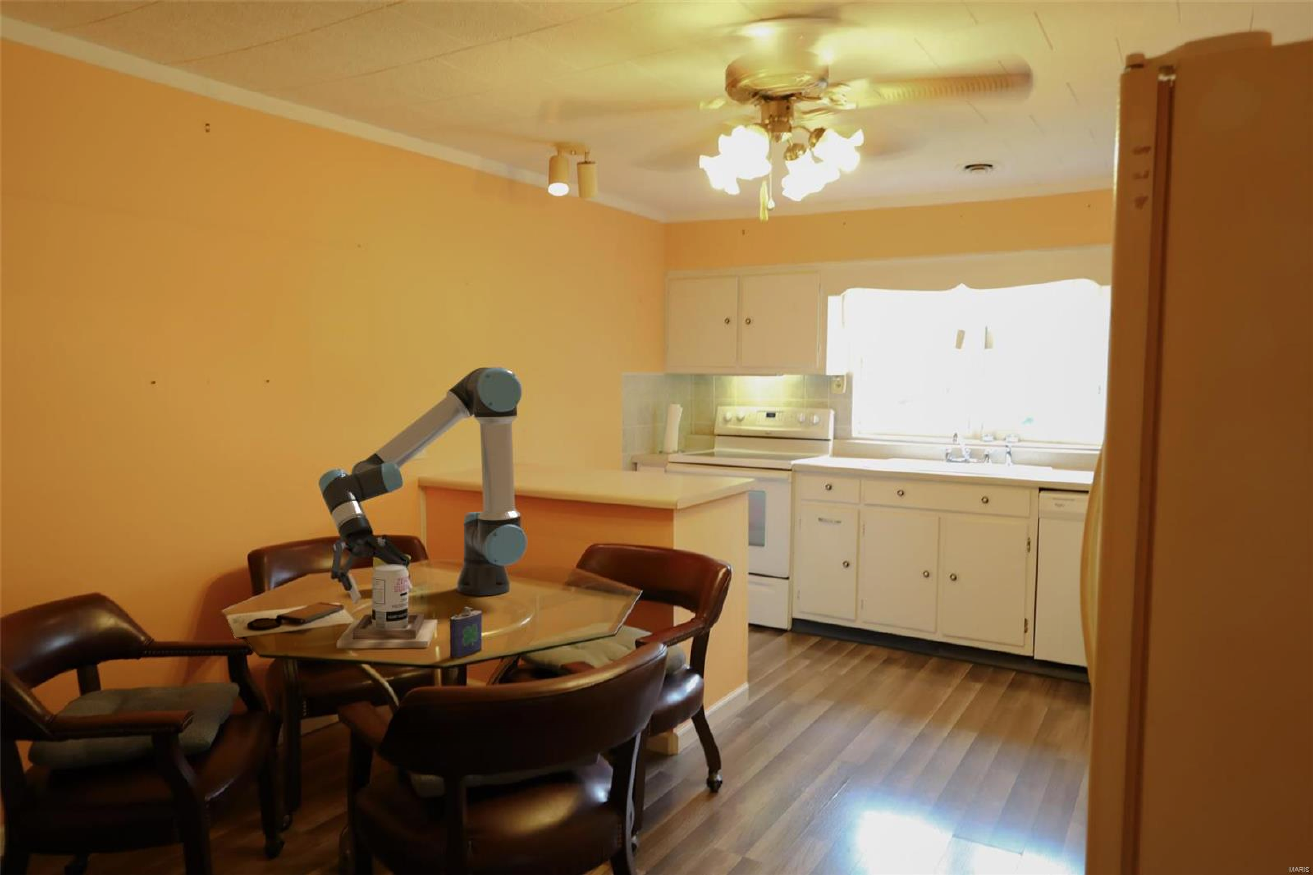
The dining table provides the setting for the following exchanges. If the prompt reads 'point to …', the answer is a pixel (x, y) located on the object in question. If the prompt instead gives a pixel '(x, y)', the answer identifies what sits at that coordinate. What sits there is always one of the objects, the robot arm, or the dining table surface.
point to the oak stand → (388, 634)
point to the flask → (465, 634)
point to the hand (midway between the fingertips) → (384, 596)
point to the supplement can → (390, 597)
